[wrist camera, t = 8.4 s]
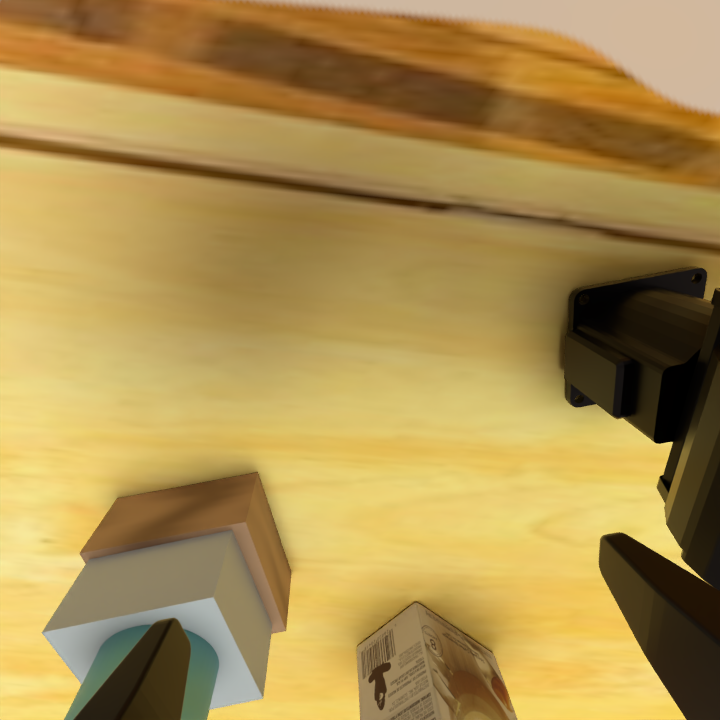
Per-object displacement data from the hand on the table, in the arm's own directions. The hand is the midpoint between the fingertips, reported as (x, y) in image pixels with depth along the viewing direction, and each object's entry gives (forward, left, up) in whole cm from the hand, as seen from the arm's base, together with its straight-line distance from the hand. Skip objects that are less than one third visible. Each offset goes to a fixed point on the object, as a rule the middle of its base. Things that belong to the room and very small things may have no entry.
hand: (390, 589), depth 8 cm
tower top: (+11, +10, -9) cm, 17 cm away
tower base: (+11, +10, -13) cm, 20 cm away
